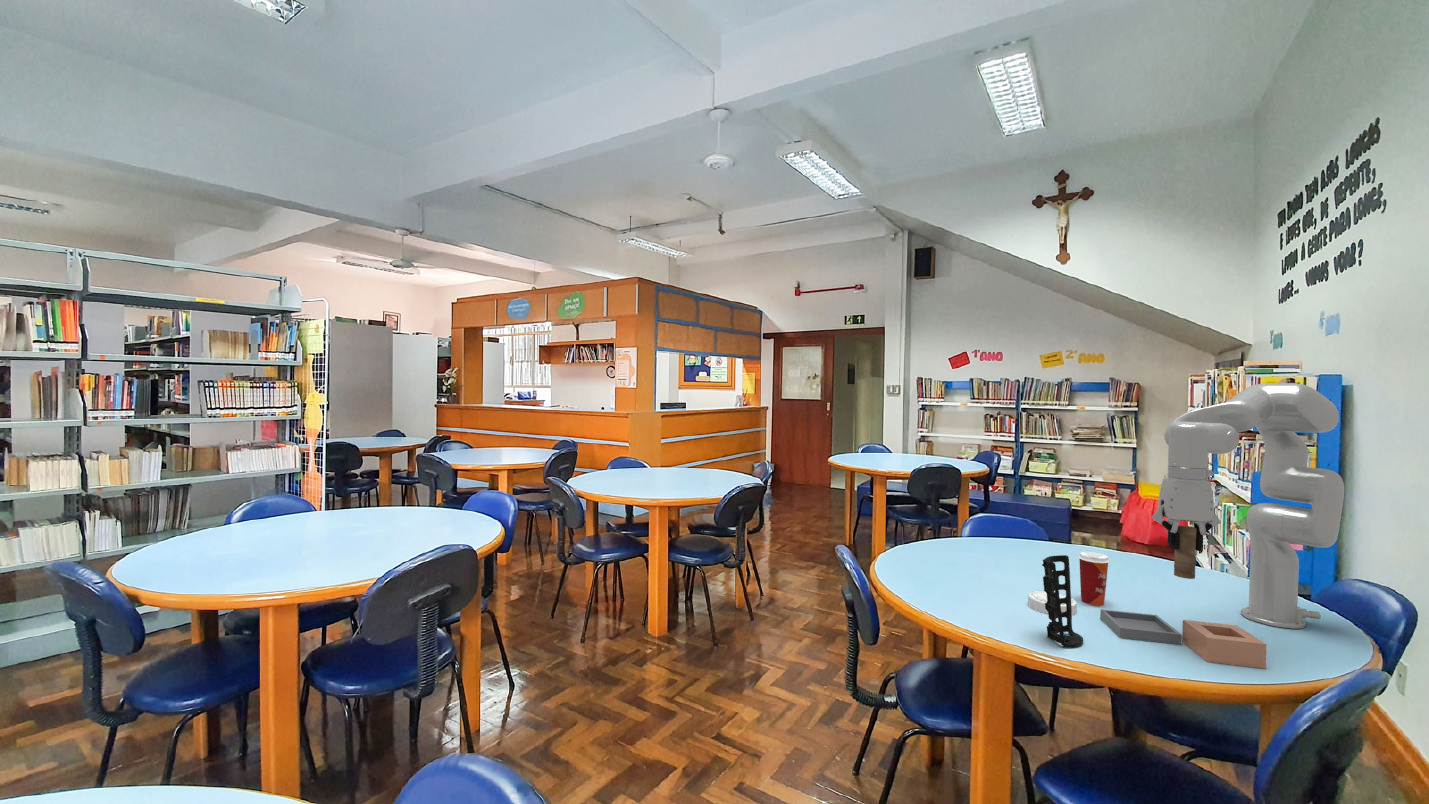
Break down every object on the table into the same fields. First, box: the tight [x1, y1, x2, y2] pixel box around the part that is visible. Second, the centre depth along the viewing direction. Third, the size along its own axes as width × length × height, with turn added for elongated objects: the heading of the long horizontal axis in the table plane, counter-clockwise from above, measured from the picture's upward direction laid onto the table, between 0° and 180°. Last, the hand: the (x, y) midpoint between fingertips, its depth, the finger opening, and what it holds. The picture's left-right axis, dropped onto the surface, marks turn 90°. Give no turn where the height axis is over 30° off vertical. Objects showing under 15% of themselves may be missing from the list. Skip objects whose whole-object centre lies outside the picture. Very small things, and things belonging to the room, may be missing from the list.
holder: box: [1041, 554, 1084, 649], centre depth 142 cm, size 11×8×20 cm
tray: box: [1099, 609, 1183, 646], centre depth 148 cm, size 13×13×2 cm
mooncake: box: [1027, 590, 1078, 616], centre depth 163 cm, size 12×12×4 cm
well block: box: [1181, 619, 1267, 670], centre depth 135 cm, size 11×11×6 cm
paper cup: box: [1077, 551, 1110, 607], centre depth 169 cm, size 8×8×14 cm
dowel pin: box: [1173, 524, 1197, 580], centre depth 141 cm, size 4×4×12 cm
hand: (1184, 548), depth 141 cm, fingers closed on dowel pin, 4 cm apart
